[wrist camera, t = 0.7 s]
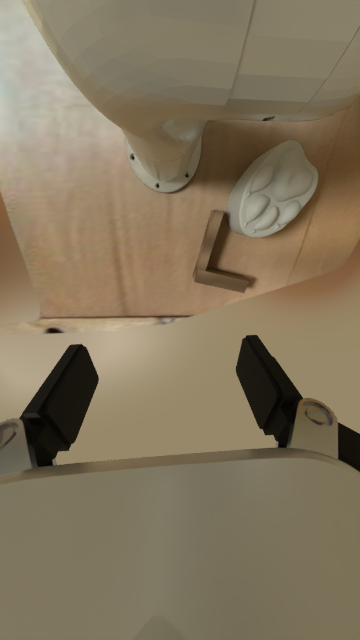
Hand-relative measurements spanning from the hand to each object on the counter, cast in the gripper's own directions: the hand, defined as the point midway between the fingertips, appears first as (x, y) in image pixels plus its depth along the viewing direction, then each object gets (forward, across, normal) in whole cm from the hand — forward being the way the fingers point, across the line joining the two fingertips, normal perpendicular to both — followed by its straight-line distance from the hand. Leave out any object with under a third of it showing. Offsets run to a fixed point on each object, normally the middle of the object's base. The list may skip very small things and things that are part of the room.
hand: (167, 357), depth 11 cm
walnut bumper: (+33, -13, +2) cm, 35 cm away
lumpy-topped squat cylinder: (+33, -18, -8) cm, 39 cm away
